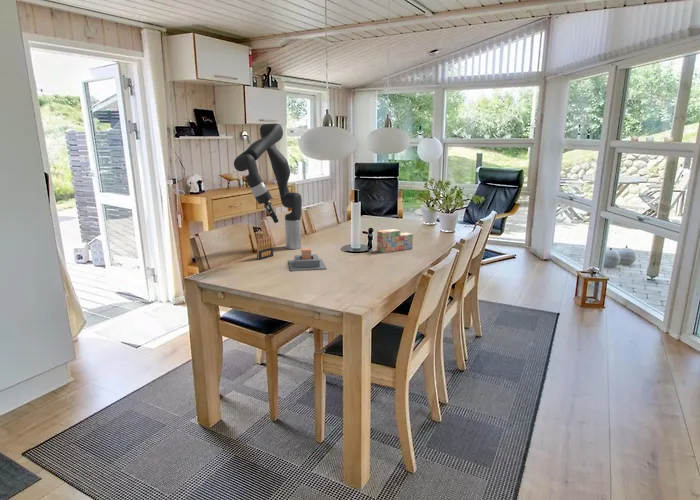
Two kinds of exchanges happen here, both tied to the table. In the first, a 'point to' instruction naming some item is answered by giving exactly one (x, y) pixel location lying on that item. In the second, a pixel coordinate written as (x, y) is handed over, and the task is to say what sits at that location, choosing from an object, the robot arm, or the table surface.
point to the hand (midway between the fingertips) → (276, 220)
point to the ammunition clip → (264, 248)
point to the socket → (306, 263)
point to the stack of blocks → (393, 240)
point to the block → (306, 253)
